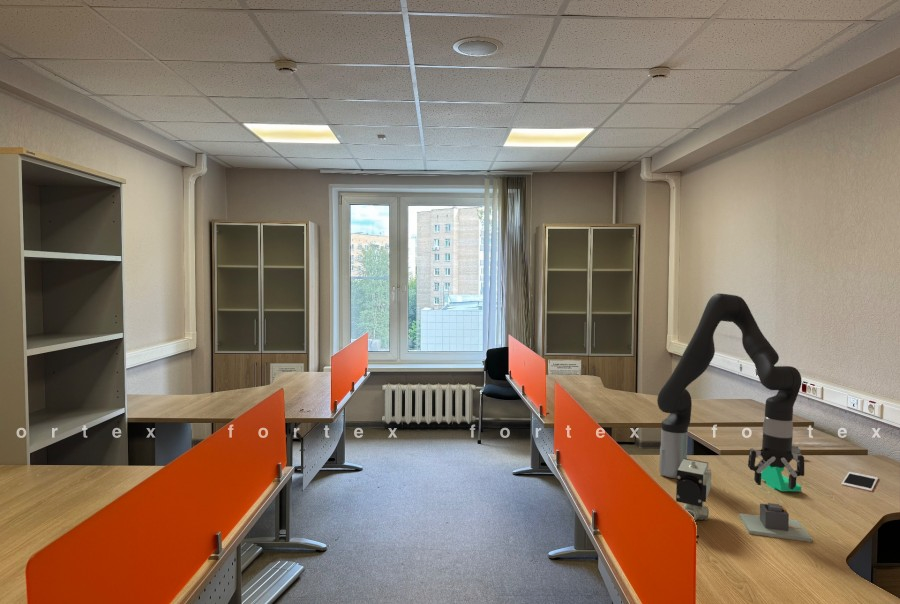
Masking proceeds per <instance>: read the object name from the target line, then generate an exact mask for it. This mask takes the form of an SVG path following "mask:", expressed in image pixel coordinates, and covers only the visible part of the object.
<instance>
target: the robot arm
mask: <svg viewBox="0 0 900 604" xmlns="http://www.w3.org/2000/svg"><path fill="white" fill-rule="evenodd" d="M721 322H728V323H733V324H734V325H735V326H737V327H738V329H739V330H740V332H741V335H742V336H741V340H742V341H741V342H742V347H743V349H744V351H745V353H746V354H747V355H748V356H749V358H750V360H751V361H752V362H753V363H754V367H755V370H756V373H757V376H758V378H759V382H760V383H761V384H762V386H763V387H764V388H765V389H768V390H770V391H777V393H776V394H775V395H773V396H771V397H767V399H766V400H765V405H764V407H765V408H764V419H763V424H762V441H761V443H762V444H761V449H760V450H758V449H754V448H750V449H749V454H748V461H747V467H748V468H749V470H751V471H753V472H754V478H753V480H754V482H755V483H756V484H757V485H758V486H762V479H761V473H762V471H763V470H764V469H766V468H767V467H768V466H771V467H779V468H783V467H784V468H786V469H787V471H788V473H789V475H788V479H789V485H788V486H789V488H790V489H793V488H795V487H796V483H797V478H798V477H804V476H805V456H804V455H803V454H802V453H801V452H800V453H798V454H792V445H793V436H794V425H793V424H794V423H793V422H794V421H793V420H794V419H793V418H794V417H793V416H794V406H795V402H796V401H797V397H798V395H799V393H800V390H801V387H802V382H803V381H802V375H801V372H800V371H799V370H798V369H797V368H796V367H794V366H790V365H783V366H782V365H780V366H779V365H777V363H778V362H779V360H780V356H779V353H778V352H777V351H776V350H775V349H774V347H773V346H772V344H771V343H770V342H769V341H768V340H767V338H766V336H764V334H763V332H762V331H761V329H760V327H759V325H758V323H757V321H756V320H755V318H754V316H753V314H752V311H751V309H750V307H749V305H748V304H747V302H746V301H745V299H743V297H742V296H739V295H736V294H730V293H729V294H728V293H727V294H726V293H714V294H713V295H712V296H711V297H710V298H709V300H708V301H707V303H706V305H705V307H704V309H703V312H702V315H701V317H700V319H699V322H698V324H697V327H696V330H695V331H694V333H693V335H692V337H691V339H690V341H689V343H688V344H687V346H686V348H685V349H684V351H683V354H682V355H681V357H680V359H679V361H678V362H677V364H676V367H675V368H674V370H673V371H672V373H671V375H670V376H669V378H668V380H666V382H665V384H664V385H663V386H662V388H661V389H660V391H659V393H658V395H657V400H656V402H657V406H658V408H659V410H660V411H661V412H663V413H665V414H668V416H667V417H665V418H664V419H663V420H662V421H661V429H660V430H661V431H660V432H661V433H660V434H661V435H660V446H659V469H658V470H659V474H660V476H661V477H666V478H671V479H677V470H678V469H679V467H680V465H681V463H682V461H683V460H684V458H685V459H688V457H687V456H688V431H689V430H688V428H689V427H690V424H691V417H692V407H693V405H692V396H691V393H690V392H689V390H688V389H687V387H688V386H689V385H691V384H692V383H693V382H694V381H696V380H697V379H698V378H699V377H701V375H703V374H704V373H705V372H706V370H707V369H708V367H709V366H710V364H711V363H712V360H713V359H714V356H715V352H716V350H715V349H716V348H715V342H714V341H715V340H714V334H715V331H716V329H717V327H718V326H719V324H720V323H721ZM775 365H776V366H775ZM759 456H760V457H762V458H761V460H759V461H758V463H757V465H756V458H758V457H759ZM793 459H794V461H795V462H796V470H794V468H793V467H792V466H791V465H790V463H791V462H792V461H793Z"/></svg>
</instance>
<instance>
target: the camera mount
mask: <svg viewBox="0 0 900 604" xmlns="http://www.w3.org/2000/svg"><path fill="white" fill-rule="evenodd" d="M784 470H785V467H783V468H779V467H771V466H768V467H767V468H766V469H764V470H763V471H762V472H761V480H762V481H764V482H765V483H766V485H767V486H769V487H770V488H771V489H772V490H779V491H780V492H801V491H802V486H801V485H800V484H799V483H797V482H796V487H795V488H793V489H790V488H789V486H788V485H789V477H786V476H785V475H784V474H782V472H784Z"/></svg>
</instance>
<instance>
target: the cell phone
mask: <svg viewBox="0 0 900 604" xmlns="http://www.w3.org/2000/svg"><path fill="white" fill-rule="evenodd" d="M878 480H879V477H877V476H872V475H868V474H862V473H859V472H858V473H857V472H853V471H848V473H847V474H846V476H845V477H844V479H843V480H842V481H841V482H840V483H841V486H843V487H847V488H853V489H857V490H861V491H864V492H865V491H866V492H869V493H870V492H871V493H872V492H873V490H874V488H875V486H876V484H877V482H878Z"/></svg>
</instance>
